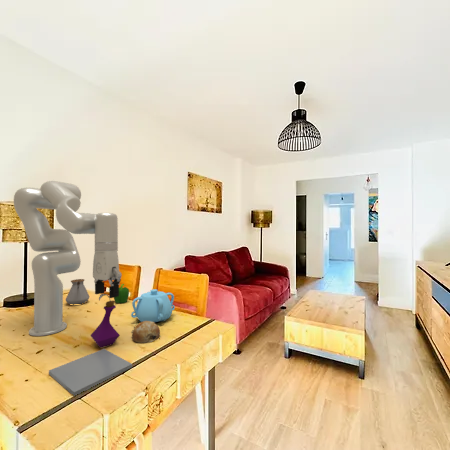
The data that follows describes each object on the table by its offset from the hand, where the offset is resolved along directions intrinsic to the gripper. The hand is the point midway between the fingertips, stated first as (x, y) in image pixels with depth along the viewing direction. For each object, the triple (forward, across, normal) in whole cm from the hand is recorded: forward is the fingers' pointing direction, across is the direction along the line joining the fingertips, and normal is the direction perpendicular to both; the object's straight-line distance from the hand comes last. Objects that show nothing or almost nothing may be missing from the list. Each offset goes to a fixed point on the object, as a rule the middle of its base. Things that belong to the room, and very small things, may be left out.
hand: (106, 295), depth 89 cm
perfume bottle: (+18, -1, 0) cm, 18 cm away
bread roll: (+18, +6, +12) cm, 22 cm away
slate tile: (+18, +12, -11) cm, 24 cm away
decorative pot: (+18, -7, +26) cm, 32 cm away
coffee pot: (+16, -57, +15) cm, 61 cm away
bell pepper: (+17, -44, +32) cm, 57 cm away
